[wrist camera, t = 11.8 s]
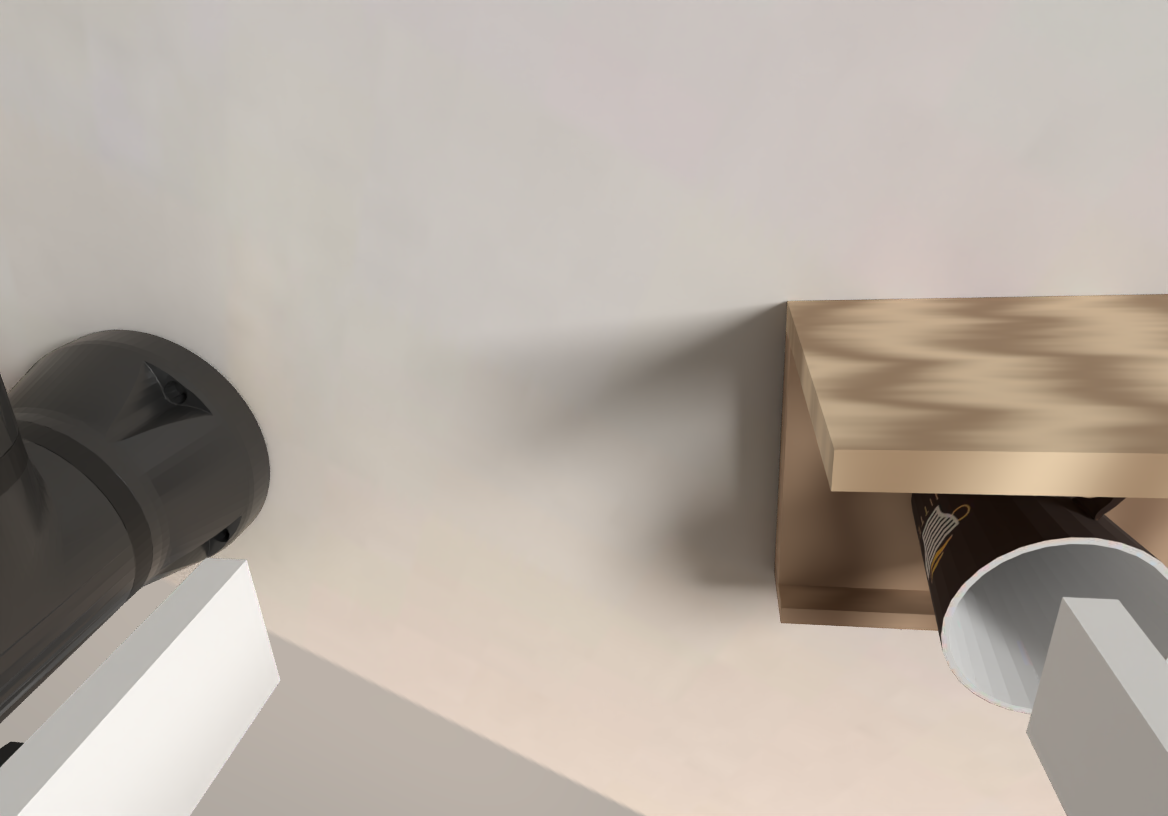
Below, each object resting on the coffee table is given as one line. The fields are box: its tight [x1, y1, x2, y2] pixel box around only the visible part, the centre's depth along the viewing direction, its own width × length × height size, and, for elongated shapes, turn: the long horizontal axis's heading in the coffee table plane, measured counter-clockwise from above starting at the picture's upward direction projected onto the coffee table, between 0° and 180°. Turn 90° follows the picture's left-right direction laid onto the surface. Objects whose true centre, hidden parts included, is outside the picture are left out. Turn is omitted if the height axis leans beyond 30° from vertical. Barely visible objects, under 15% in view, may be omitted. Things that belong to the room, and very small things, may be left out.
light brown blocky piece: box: [774, 294, 1168, 631], centre depth 33 cm, size 19×16×16 cm
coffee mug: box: [911, 493, 1168, 714], centre depth 33 cm, size 12×9×10 cm
